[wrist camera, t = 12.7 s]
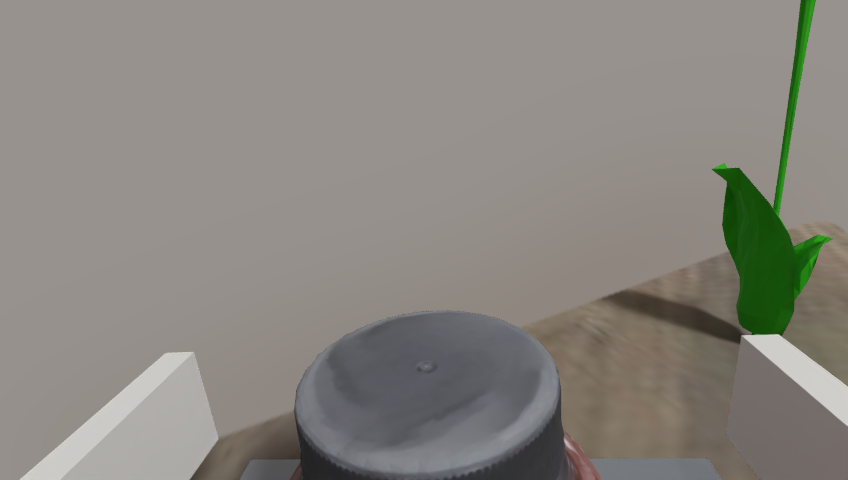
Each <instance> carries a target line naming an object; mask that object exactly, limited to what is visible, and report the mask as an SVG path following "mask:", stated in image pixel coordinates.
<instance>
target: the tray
mask: <svg viewBox="0 0 848 480" xmlns="http://www.w3.org/2000/svg"><path fill="white" fill-rule="evenodd" d="M589 460H590V461H591V462H592V463H593V465H594V466H595V468H596V470H597V472H598V473H599V475H600V477H601V479H602V480H722V479H721V478H720V476H719V475H718V473H717V472H716V470H715V469H714V467H713V466H712V464H711V463H710V461H709V460H708V458H661V459H589ZM299 463H300V459H251V460H250V462H249V464H248V466H247V467H246V469H245V471H244V472H243V474H242V476H241V478H240V479H239V480H290V478H291V477H292V475H293V473H294V471H295V470H296V468H297V467H298V465H299Z"/></svg>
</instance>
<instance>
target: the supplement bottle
mask: <svg viewBox="0 0 848 480" xmlns="http://www.w3.org/2000/svg"><path fill="white" fill-rule="evenodd" d="M294 414H295V420H296V426H297V432H298V437H299V441H300V447H301V458H300V463H299V465H298V467H297V468H296V470H295V471H294V473H293V475H292V477H291V478H290V480H602V479H601V477H600V475H599V473H598V472H597V470H596V468H595V466H594V465H593V463H592V462H591V461H590V460H589V459H588V458H587V456H586V455H585V453H584V451H583V450H582V449H581V447H580V446H579V444H577V443H576V442H575V441H574V440H573V439H572V437H571V436H570V435H568V434H567V433H566V432H565V431H564V430H563V427H562V423H561V386H560V379H559V374H558V370H557V367H556V365H555V362H554V360H553V358H552V357H551V355H550V354H549V353H548V352H547V350H546V349H545V348H544V347H543V346H542V345H541V344H540V342H539V341H538V340H537V339H535V338H533V337H532V336H530V335H529V334H528V333H527V332H525V331H524V330H522V329H520V328H519V327H517V326H514V325H512V324H510V323H508V322H506V321H504V320H500V319H498V318H494V317H490V316H486V315H481V314H476V313H470V312H462V311H422V312H415V313H409V314H403V315H398V316H394V317H389V318H386V319H383V320H379V321H377V322H374V323H371V324H369V325H367V326H364V327H362V328H360V329H357V330H355V331H354V332H352V333H349V334H346V335H345V336H343V337H342V338H341V339H339V340H338V341H337V342H335V343H333V344H332V345H330V346H329V347H328V348H326V349H325V350H324V351H323V352H322V353H320V354H319V355H318V356H317V358H316V359H315V361H314V362H313V363H312V364H311V365H310V366H309V367H308V368H307V370H306V371H305V373H304V375H303V377H302V379H301V381H300V383H299V385H298V387H297V390H296V400H295V408H294Z"/></svg>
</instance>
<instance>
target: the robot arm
mask: <svg viewBox="0 0 848 480" xmlns="http://www.w3.org/2000/svg"><path fill="white" fill-rule="evenodd" d="M726 436H727V437H728V439H729V440H730V441H731V442H732V444H733V445H734V446H735V447H736V449H737V450H738V451H739V453H740V454H741V455H742V456H743V458H744V459H745V460H746V462H747V463H748V464H749V465H750V467H751V468H752V469H753V471H754V472H755V473H756V474H757V476H758V477H759V478H760V480H848V386H846V385H845V384H844V383H842V382H841V381H840V380H838V379H837V378H836V377H834V376H833V375H832V374H830V373H829V372H828V371H826V370H825V369H824V368H822V367H821V366H820V365H818V364H817V363H816V362H814V361H813V360H812V359H810V358H809V357H808V356H806V355H805V354H804V353H802V352H801V351H800V350H798V349H797V348H796V347H794V346H793V345H792V344H790V343H789V342H788V341H786V340H785V339H784V338H782V337H781V336H780V335H778V334H774V335H741V342H740V348H739V354H738V361H737V367H736V373H735V380H734V386H733V392H732V399H731V405H730V411H729V418H728V424H727V430H726ZM218 439H219V438H218V435H217V432H216V428H215V424H214V421H213V418H212V414H211V410H210V407H209V403H208V400H207V397H206V393H205V390H204V386H203V383H202V379H201V376H200V372H199V369H198V365H197V362H196V358H195V355H194V352H180V353H166V354H164V355H163V356H162V357H161V358H160V359H159V360H157V361H156V362H155V363H154V364H153V365H151V366H150V367H149V368H148V369H147V370H146V371H145V372H143V373H142V374H141V375H140V376H139V377H138V378H136V379H135V380H134V381H133V382H132V383H131V384H130V385H128V386H127V387H126V388H125V389H124V390H123V391H121V392H120V393H119V394H118V395H117V396H116V397H115V398H114V399H112V400H111V401H110V402H109V403H108V404H107V405H105V406H104V407H103V408H102V409H101V410H100V411H99V412H97V413H96V414H95V415H94V416H93V417H91V418H90V419H89V420H88V421H87V422H86V423H85V424H83V425H82V426H81V427H80V428H79V429H78V430H76V431H75V432H74V433H73V434H72V435H71V436H70V437H68V438H67V439H66V440H65V441H64V442H63V443H61V444H60V445H59V446H58V447H57V448H56V449H55V450H53V451H52V452H51V453H50V454H49V455H48V456H46V457H45V458H44V459H43V460H42V461H41V462H40V463H38V465H36V466H35V467H34V468H33V469H31V470H30V471H29V472H28V473H27V474H26V475H25V476H23V477H22V478H21V479H20V480H190V478H191V477H192V476H193V474H194V473H195V471H196V470H197V469H198V467H199V466H200V464H201V463H202V462H203V460H204V459H205V457H206V456H207V455H208V453H209V452H210V450H211V449H212V447H213V446H214V445H215V443H216V442H217V440H218Z"/></svg>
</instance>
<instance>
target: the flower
mask: <svg viewBox="0 0 848 480" xmlns="http://www.w3.org/2000/svg"><path fill="white" fill-rule="evenodd" d="M815 1H816V0H801V4H800V13H799V22H798V31H797V39H796V49H795V57H794V64H793V71H792V79H791V86H790V93H789V100H788V108H787V115H786V122H785V129H784V137H783V144H782V152H781V159H780V166H779V174H778V179H777V186H776V193H775V200H774V206H773V208H772V206H771V205H770V203H769V202H768V201H767V200H766V199H765V198H764V196H763V195H762V194H761V193H760V192H759V191H758V189H756V187H755V186H754V185H753V184H752V183H751V181H750V180H749V179H748V178H747V177H746V176H745V174H744V173H743V172H742V171H741V170H740V168H727V167H726V165H725V163H724V164H722V165H720V166H718V167H716V168H714V169H712V170H713V171H714V172H716V173H717V174H718V175H720V176H721V177H722V178H723V179H725V180H726V181H727V188H726V195H725V203H724V212H723V223H722V226H723V231H724V236H725V241H726V245H727V247H728V249H729V251H730V253H731V256H732V258H733V260H734V262H735V265H736V268H737V270H738V273H739V276H740V293H739V297H738V301H737V306H736V307H737V313H738V319H739V324H740V325H741V326H742V327H743V328H745V329H746V330H748V331H750V332H752V335H774V334H778V335H780V336H782V335H783V333H784V331H785V329H786V327H787V326H788V324H789V322H790V319H791V317H792V315H793V312H794V300H795V299H796V297H797V296H798V295H799V294H800V292H801V291H802V289H803V288H804V286H805V285H806V283H807V282H808V280H809V277H810V275H811V273H812V270H813V268H814V265H815V263H816V260H817V256H818V253H819V251H820V249H821V247H822V245H823V244H824V243H826V242H828V241H830V240H832V239H833V238H830V237H825V236H821V235H817V236H815V237H813V238H811V239H808V240H806V241H804V242H802V243H800V244H798V245H796V246H794V247H793V245H792V242H791V239H790V235H789V233H788V231H787V230H786V228H785V226H784V224H783V222H782V220H781V219H780V217H779V212H780V205H781V198H782V192H783V185H784V179H785V172H786V166H787V159H788V152H789V146H790V140H791V133H792V127H793V122H794V116H795V110H796V104H797V98H798V92H799V86H800V81H801V75H802V69H803V63H804V58H805V52H806V47H807V42H808V37H809V32H810V26H811V21H812V16H813V11H814V6H815Z"/></svg>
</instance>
